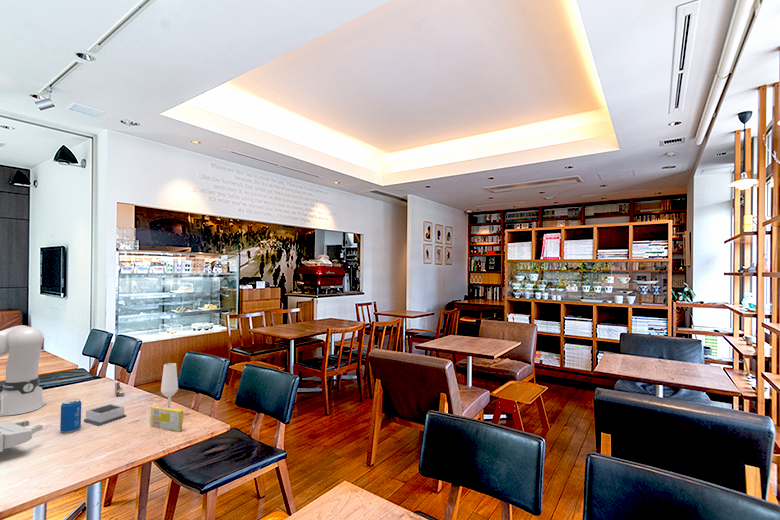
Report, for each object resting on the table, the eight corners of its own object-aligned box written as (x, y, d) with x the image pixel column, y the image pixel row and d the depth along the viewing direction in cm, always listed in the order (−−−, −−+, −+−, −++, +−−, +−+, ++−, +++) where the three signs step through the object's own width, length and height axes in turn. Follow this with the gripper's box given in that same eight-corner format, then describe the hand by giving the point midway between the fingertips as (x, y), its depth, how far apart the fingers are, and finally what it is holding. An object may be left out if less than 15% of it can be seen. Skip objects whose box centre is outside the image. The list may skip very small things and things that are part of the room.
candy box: (183, 430, 158) (183, 410, 158) (178, 432, 156) (179, 411, 156) (153, 425, 163) (154, 405, 164) (149, 426, 161) (149, 407, 162)
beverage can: (68, 434, 153) (69, 404, 153) (55, 433, 154) (56, 403, 155) (84, 428, 159) (85, 398, 160) (72, 426, 161) (72, 397, 161)
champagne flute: (161, 423, 165) (163, 367, 165) (158, 418, 170) (159, 364, 170) (179, 419, 169) (180, 364, 170) (175, 415, 174) (176, 361, 175)
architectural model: (122, 394, 204) (122, 380, 205) (124, 397, 199) (124, 382, 199) (114, 395, 202) (114, 381, 202) (116, 398, 197) (116, 384, 197)
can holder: (83, 421, 166) (83, 411, 166) (110, 413, 176) (111, 403, 176) (98, 426, 162) (99, 415, 162) (125, 417, 172) (126, 406, 172)
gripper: (-29, 442, 138) (20, 428, 151) (-1, 454, 130) (49, 438, 142) (-29, 425, 138) (21, 412, 151) (-1, 435, 130) (49, 421, 142)
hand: (34, 424), depth 146 cm, fingers open, 8 cm apart
